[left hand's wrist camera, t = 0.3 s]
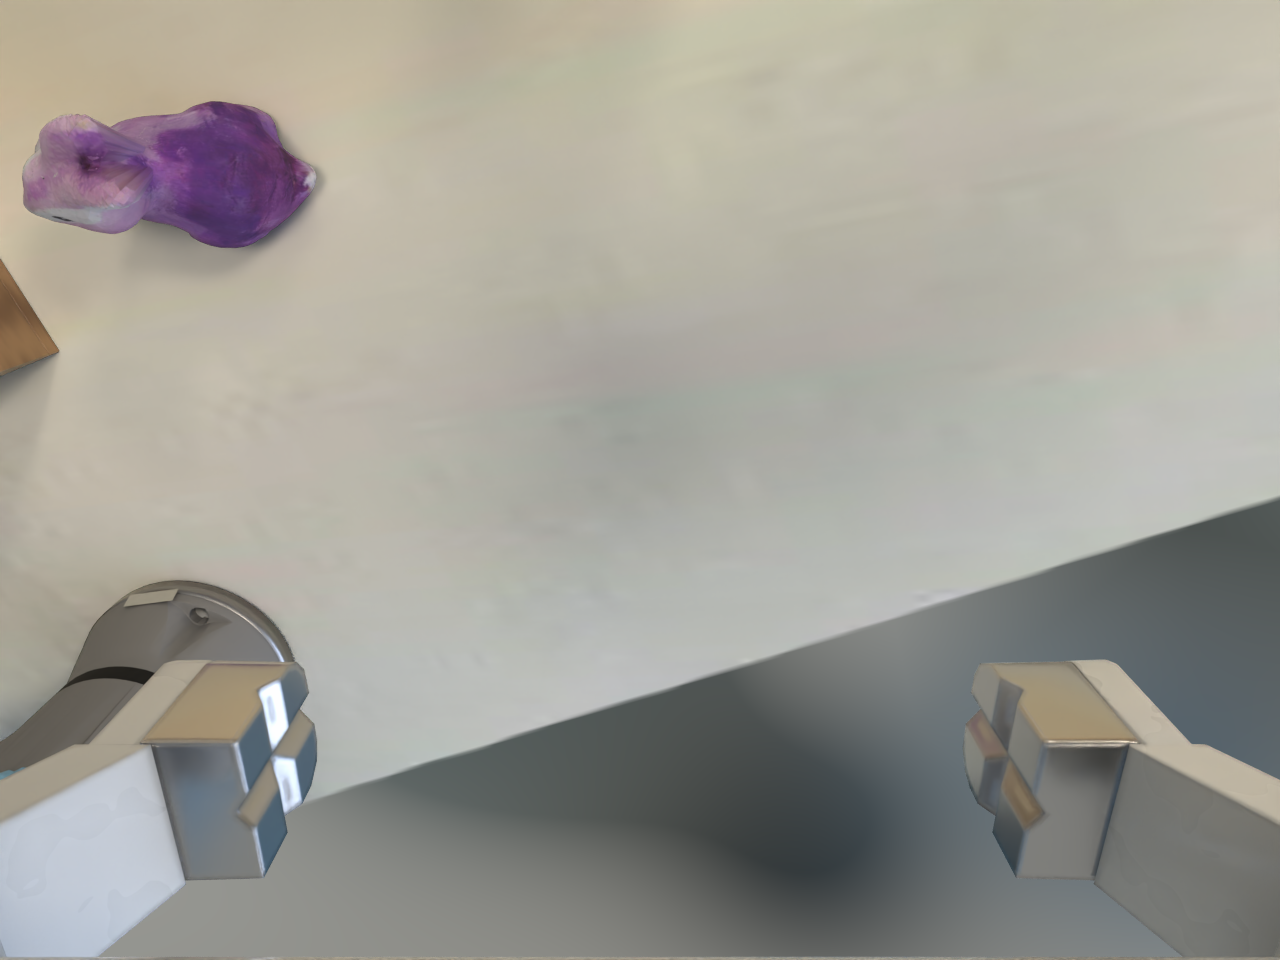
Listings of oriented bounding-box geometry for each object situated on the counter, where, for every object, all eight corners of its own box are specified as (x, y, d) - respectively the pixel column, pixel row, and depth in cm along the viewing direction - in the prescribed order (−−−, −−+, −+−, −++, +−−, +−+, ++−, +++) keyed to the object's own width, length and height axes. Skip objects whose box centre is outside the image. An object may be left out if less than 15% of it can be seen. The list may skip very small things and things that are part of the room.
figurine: (113, 180, 53) (-75, 191, 39) (211, 54, 51) (48, 19, 37) (236, 291, 56) (101, 339, 42) (336, 176, 53) (227, 187, 39)
